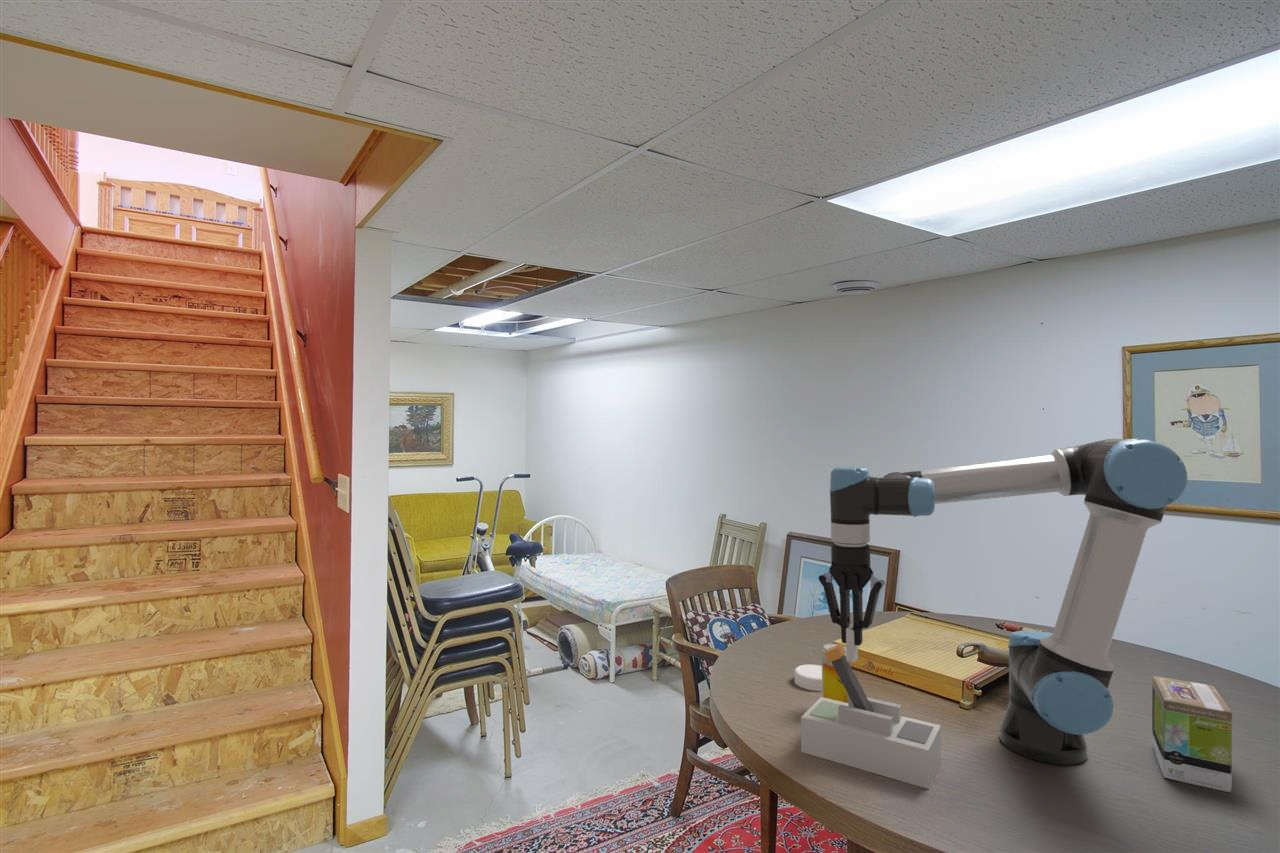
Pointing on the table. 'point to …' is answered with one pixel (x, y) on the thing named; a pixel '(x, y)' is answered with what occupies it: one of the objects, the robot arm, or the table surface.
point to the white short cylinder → (809, 677)
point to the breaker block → (873, 739)
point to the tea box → (1192, 733)
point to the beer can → (832, 679)
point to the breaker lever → (848, 677)
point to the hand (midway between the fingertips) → (852, 659)
